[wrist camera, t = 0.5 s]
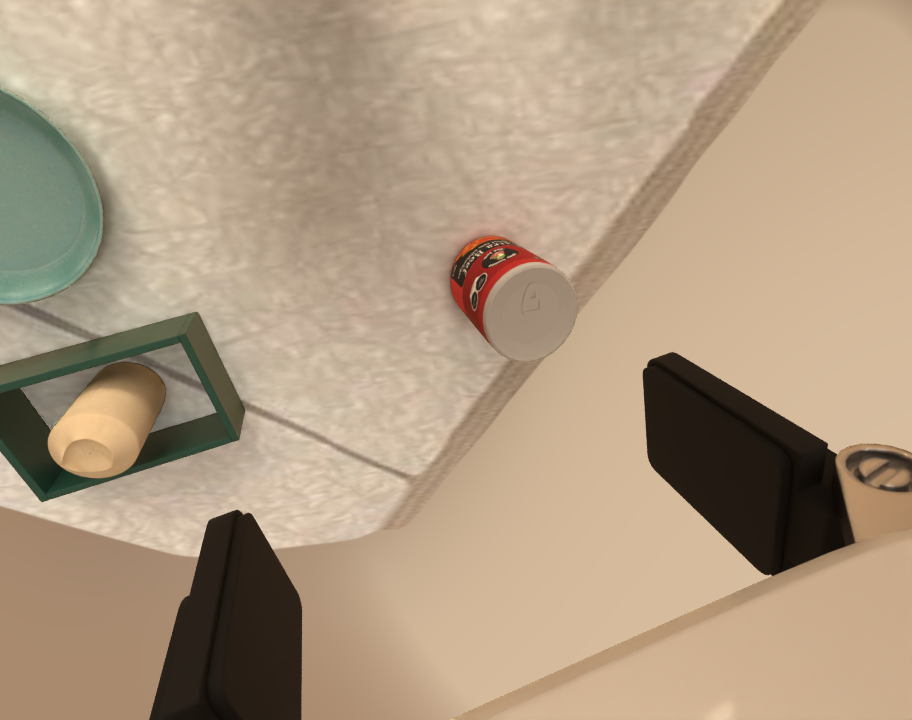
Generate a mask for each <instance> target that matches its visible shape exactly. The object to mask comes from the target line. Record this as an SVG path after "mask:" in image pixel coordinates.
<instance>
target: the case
mask: <svg viewBox="0 0 912 720" xmlns="http://www.w3.org/2000/svg"><path fill="white" fill-rule="evenodd" d="M180 342H181V344H182V346H183V347H184V349H185V351H186V353H187V355H188V357H189V359H190V361H191V363H192V365H193V367H194V369H195V371H196V372H197V374H198V376H199V378H200V380H201V382H202V384H203V386H204V388H205V390H206V392H207V394H208V396H209V398H210V399H211V401H212V403H213V405H214V407H215V409H216V411H217V413H216V414H213V415H210V416H206V417H203V418H200V419H197V420H193V421H190V422H187V423H183V424H180V425H177V426H174V427H170V428H167V429H164V430H161V431H157V432H154V433H151V434H149V435H148V437H147V439H146V441H145V443H144V445H143V447H142V449H141V451H140V453H139V455H138V457H137V459H136V461H135V462H134V463H133V465H132V466H131V467H130V468H128V469H127V470H126V471H124V472H122V473H120V474H118V475H115V476H111V477H106V478H88V477H82V476H79V475H75V474H73V473H71V472H69V471H67V470H65V469H64V468H62V467H61V466H60V465H58V464H57V463H56V462H55V460H54V459H53V458H52V456H51V454H50V452H49V449H48V437H49V434H50V432H51V431H50V430H49V428H48V427H47V426H46V424H45V423H44V421H43V420H42V419H41V417H40V416H39V415H38V413H37V412H36V410H35V409H34V408H33V406H32V405H31V404H30V402H29V401H28V400H27V398H26V397H25V395H24V394H23V393H22V391H21V390H20V389H19V388H21V387H25V386H28V385H32V384H35V383H39V382H42V381H46V380H49V379H53V378H57V377H60V376H64V375H67V374H71V373H74V372H78V371H81V370H85V369H89V368H92V367H96V366H99V365H103V364H106V363H110V362H113V361H117V360H121V359H124V358H128V357H131V356H135V355H138V354H142V353H145V352H149V351H153V350H156V349H160V348H163V347H167V346H170V345H174V344H177V343H180ZM244 414H245V409H244V407H243V405H242V402H241V400H240V398H239V396H238V394H237V392H236V390H235V388H234V386H233V384H232V382H231V380H230V378H229V376H228V374H227V372H226V370H225V367H224V365H223V363H222V361H221V359H220V357H219V355H218V353H217V351H216V349H215V347H214V345H213V343H212V341H211V339H210V337H209V334H208V332H207V330H206V328H205V326H204V324H203V322H202V320H201V318H200V316H199V314H198V312H194V313H191V314H187V315H183V316H180V317H176V318H172V319H169V320H165V321H161V322H158V323H154V324H150V325H147V326H143V327H139V328H136V329H132V330H128V331H125V332H121V333H117V334H114V335H110V336H106V337H103V338H99V339H95V340H92V341H88V342H84V343H81V344H77V345H74V346H70V347H66V348H63V349H59V350H55V351H52V352H48V353H44V354H41V355H37V356H33V357H30V358H26V359H22V360H19V361H15V362H11V363H8V364H4V365H0V452H1V453H2V454H3V455H4V456H5V458H6V459H7V460H8V461H9V463H10V464H11V465H12V466H13V468H14V469H15V470H16V471H17V472H18V474H19V475H20V476H21V477H22V479H23V480H24V481H25V482H26V484H27V485H28V486H29V487H30V488H31V490H32V491H33V492H34V493H35V495H36V496H37V497H38V498H39V500H40V501H41V502H44V501H47V500H49V499H53V498H57V497H60V496H63V495H66V494H69V493H72V492H76V491H79V490H82V489H85V488H88V487H91V486H95V485H98V484H101V483H104V482H107V481H110V480H114V479H117V478H120V477H123V476H126V475H130V474H133V473H136V472H139V471H142V470H145V469H149V468H152V467H155V466H158V465H161V464H164V463H168V462H171V461H174V460H177V459H180V458H183V457H187V456H190V455H193V454H196V453H199V452H203V451H206V450H209V449H212V448H215V447H218V446H222V445H225V444H228V443H231V442H234V441H237V440H239V439H240V434H241V429H242V424H243V419H244Z"/></svg>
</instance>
